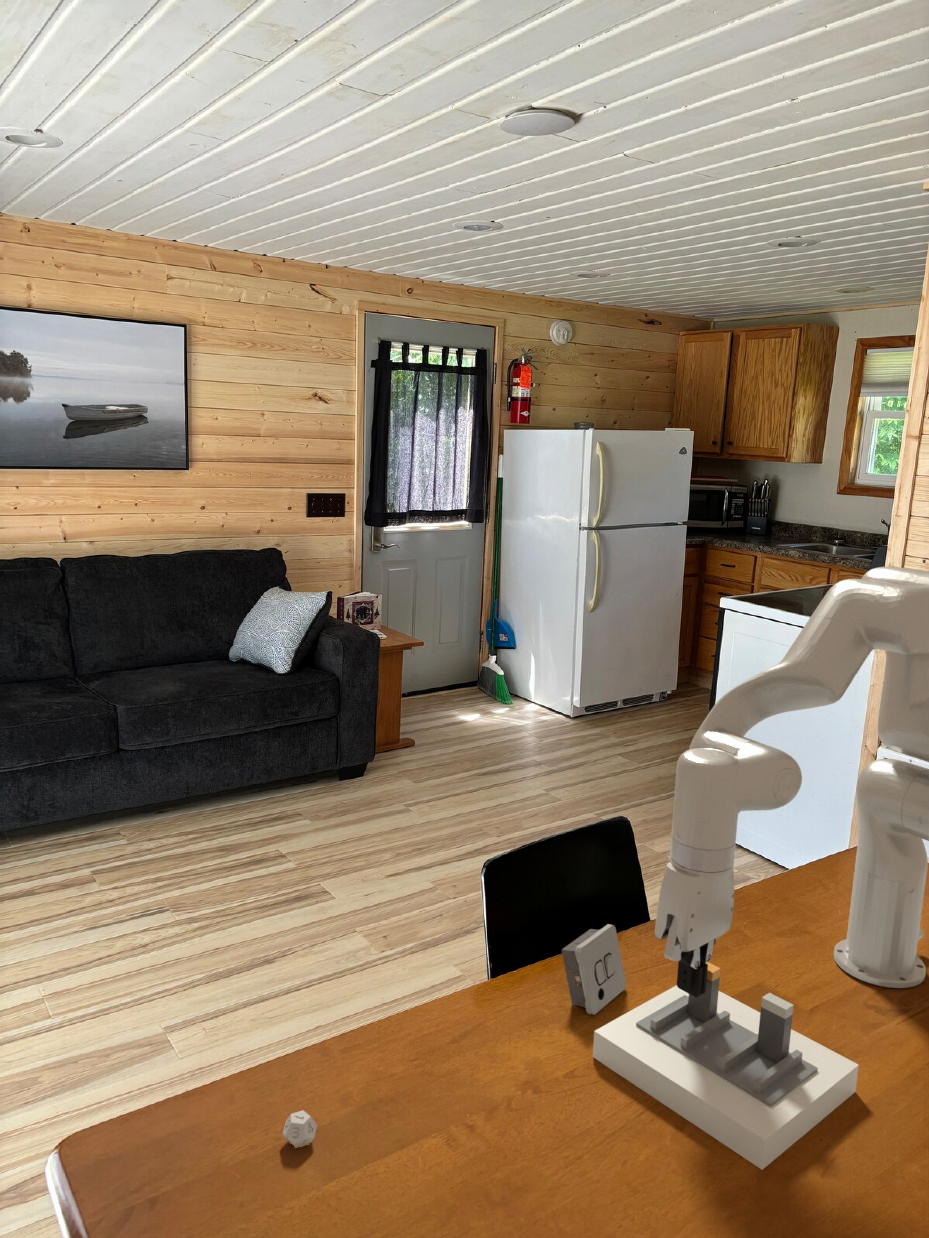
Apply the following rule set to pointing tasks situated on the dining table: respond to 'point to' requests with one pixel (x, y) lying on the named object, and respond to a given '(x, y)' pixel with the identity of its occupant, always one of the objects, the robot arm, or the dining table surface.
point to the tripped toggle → (706, 997)
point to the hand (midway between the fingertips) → (690, 990)
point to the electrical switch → (594, 969)
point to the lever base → (729, 1070)
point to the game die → (299, 1128)
